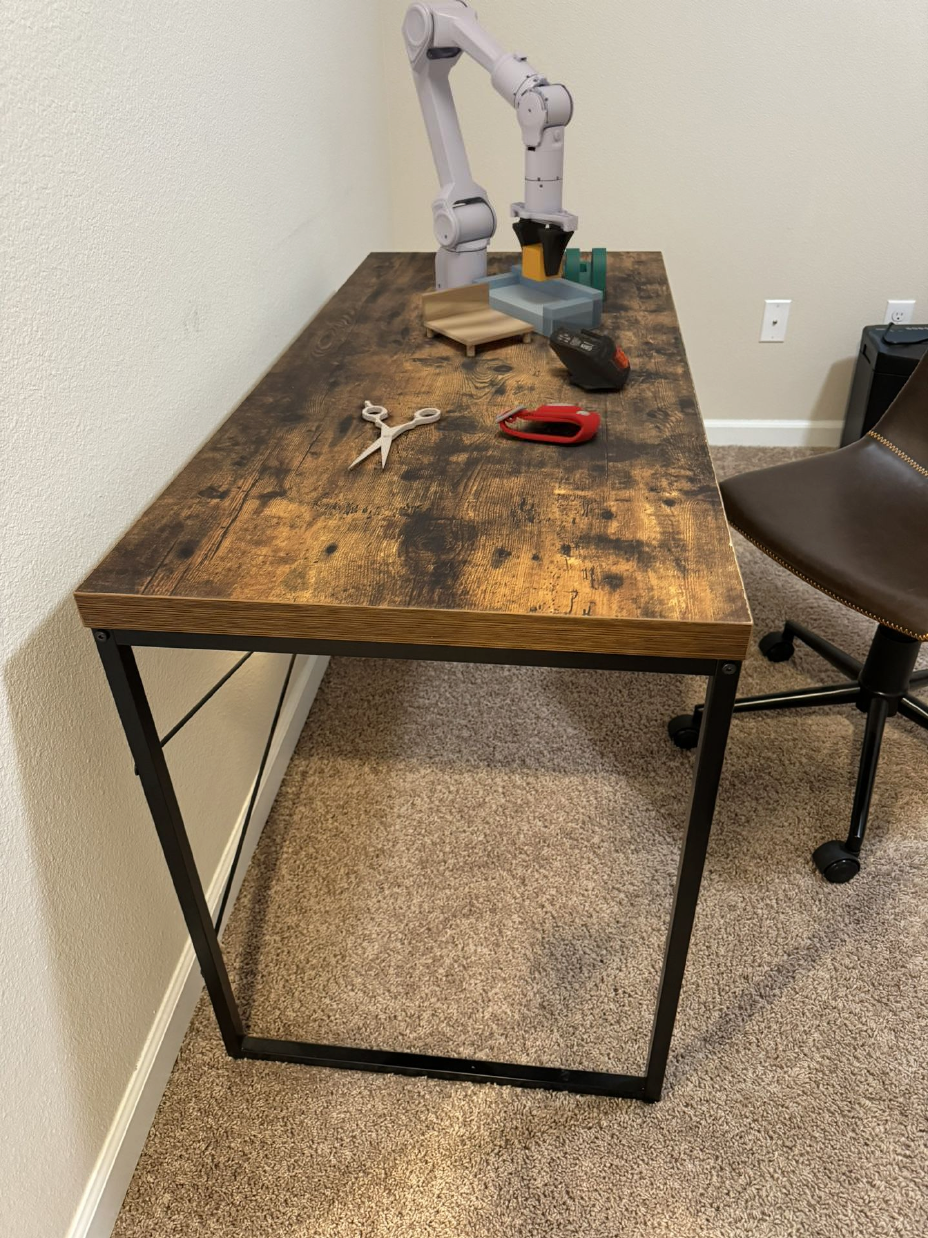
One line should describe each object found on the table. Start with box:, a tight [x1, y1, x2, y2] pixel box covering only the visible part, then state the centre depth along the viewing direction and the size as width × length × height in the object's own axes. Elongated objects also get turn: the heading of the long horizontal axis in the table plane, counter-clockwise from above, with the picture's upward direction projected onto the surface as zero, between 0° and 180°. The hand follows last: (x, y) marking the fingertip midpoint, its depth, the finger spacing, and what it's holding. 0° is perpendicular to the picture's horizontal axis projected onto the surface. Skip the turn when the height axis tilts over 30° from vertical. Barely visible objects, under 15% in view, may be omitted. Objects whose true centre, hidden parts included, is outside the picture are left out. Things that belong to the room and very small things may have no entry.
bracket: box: [562, 247, 608, 302], centre depth 163 cm, size 18×7×8 cm, turn 176°
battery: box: [548, 326, 632, 391], centre depth 124 cm, size 12×8×7 cm
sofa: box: [472, 263, 603, 339], centre depth 150 cm, size 22×10×6 cm, turn 33°
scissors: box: [348, 400, 441, 469], centre depth 112 cm, size 11×1×20 cm
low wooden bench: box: [421, 281, 534, 358], centre depth 141 cm, size 13×12×6 cm
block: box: [521, 243, 563, 282], centre depth 144 cm, size 4×4×4 cm
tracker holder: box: [494, 402, 601, 444], centre depth 111 cm, size 12×4×10 cm
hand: (541, 271), depth 145 cm, fingers closed on block, 4 cm apart
